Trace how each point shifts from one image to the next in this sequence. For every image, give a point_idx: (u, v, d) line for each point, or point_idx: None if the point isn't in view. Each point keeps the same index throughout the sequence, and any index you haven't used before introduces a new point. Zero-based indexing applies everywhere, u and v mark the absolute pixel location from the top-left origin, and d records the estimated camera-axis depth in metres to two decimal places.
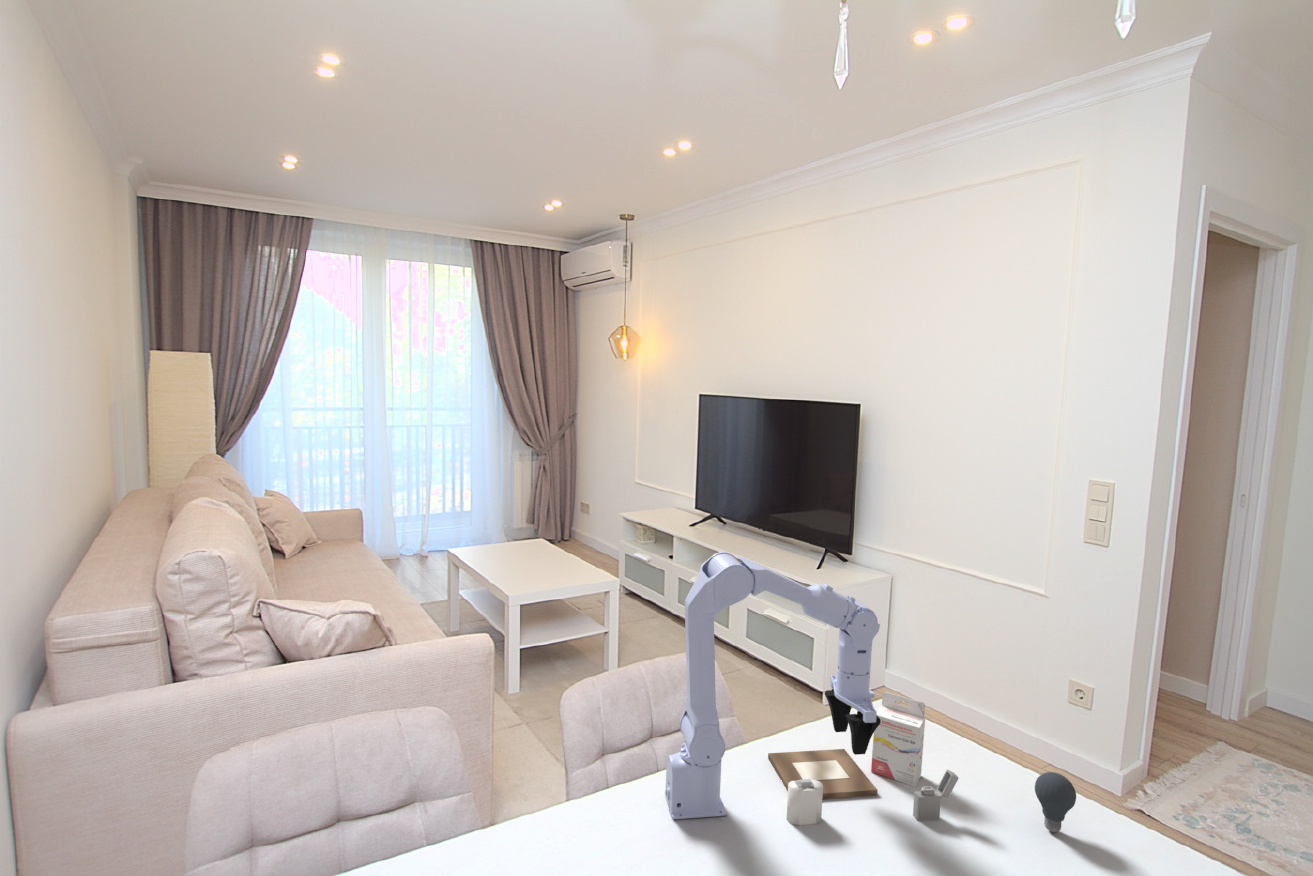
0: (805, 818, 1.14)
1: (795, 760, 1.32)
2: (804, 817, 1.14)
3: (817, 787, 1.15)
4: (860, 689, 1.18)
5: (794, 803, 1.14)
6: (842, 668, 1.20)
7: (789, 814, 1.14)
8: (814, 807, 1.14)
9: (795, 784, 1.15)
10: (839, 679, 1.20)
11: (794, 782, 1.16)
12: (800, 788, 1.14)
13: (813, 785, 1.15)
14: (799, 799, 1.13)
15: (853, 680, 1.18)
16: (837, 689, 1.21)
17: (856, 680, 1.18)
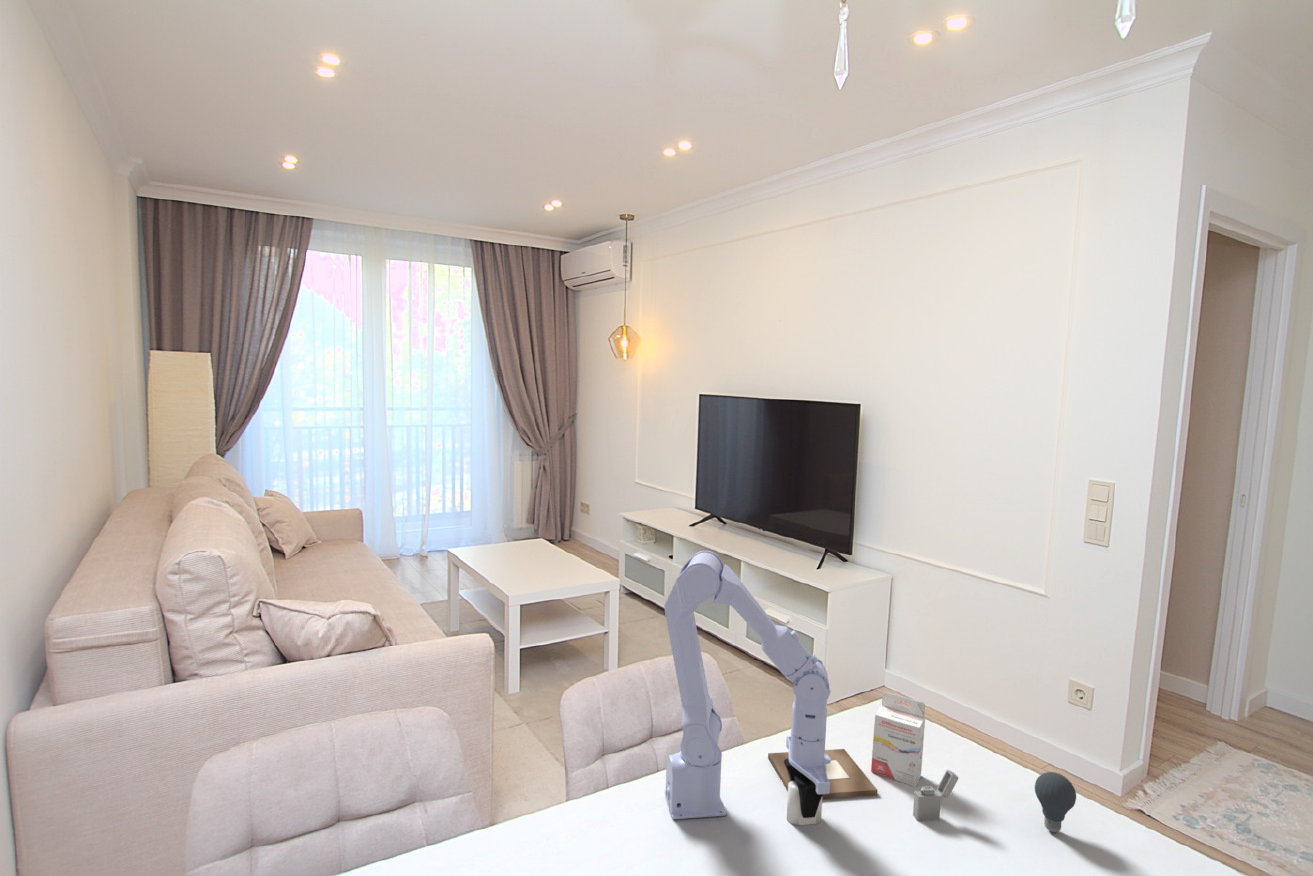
0: (805, 818, 1.14)
1: None
2: None
3: None
4: (814, 756, 1.12)
5: (794, 803, 1.14)
6: (792, 730, 1.14)
7: (789, 814, 1.14)
8: None
9: (795, 784, 1.15)
10: (792, 744, 1.14)
11: (794, 782, 1.16)
12: None
13: None
14: (799, 799, 1.13)
15: (807, 746, 1.12)
16: (791, 755, 1.14)
17: (810, 746, 1.12)
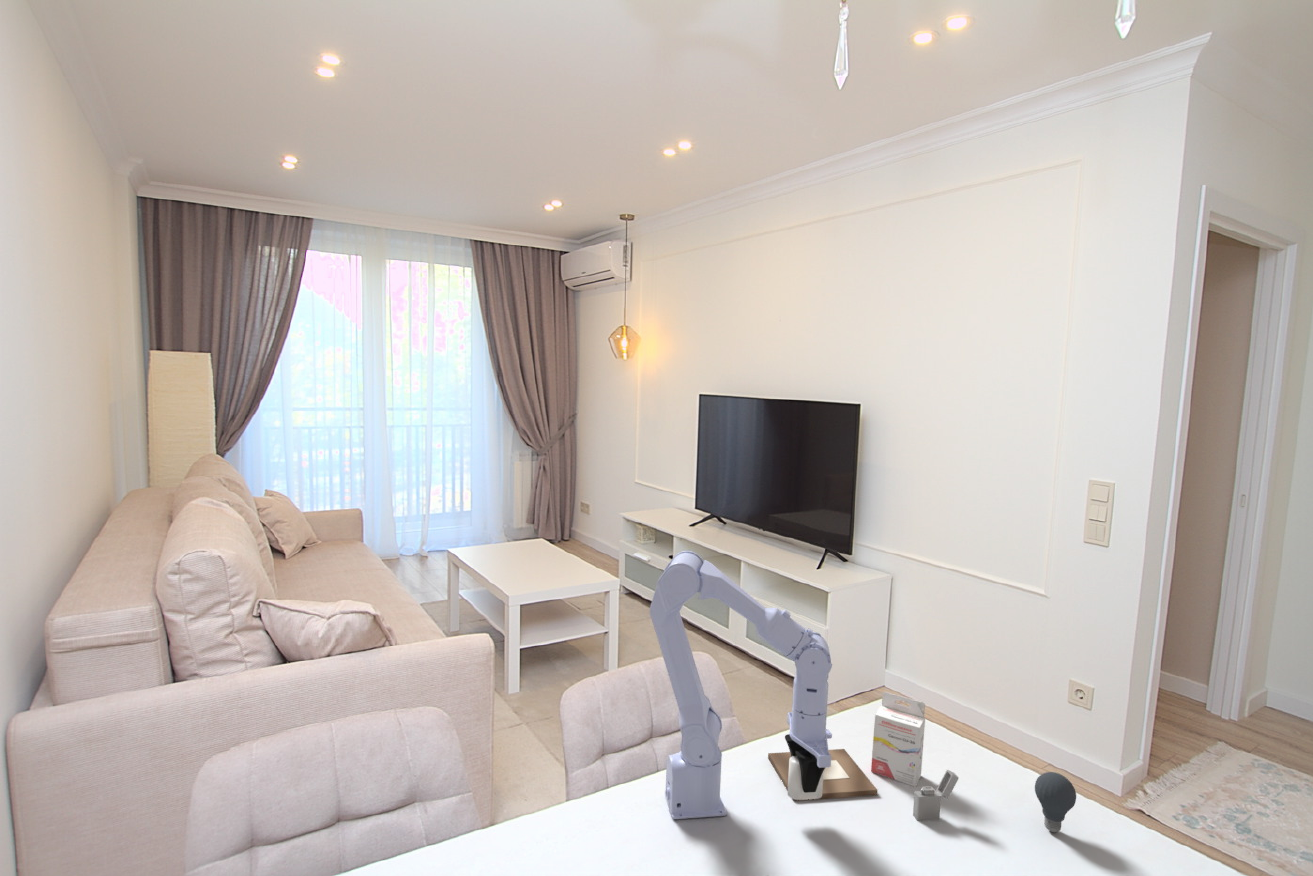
0: (806, 793, 1.14)
1: None
2: None
3: None
4: (815, 730, 1.11)
5: (795, 777, 1.13)
6: (794, 705, 1.13)
7: (790, 789, 1.14)
8: None
9: (796, 759, 1.15)
10: (794, 719, 1.13)
11: (795, 757, 1.15)
12: None
13: None
14: (800, 774, 1.13)
15: (808, 721, 1.11)
16: (792, 729, 1.14)
17: (811, 721, 1.11)
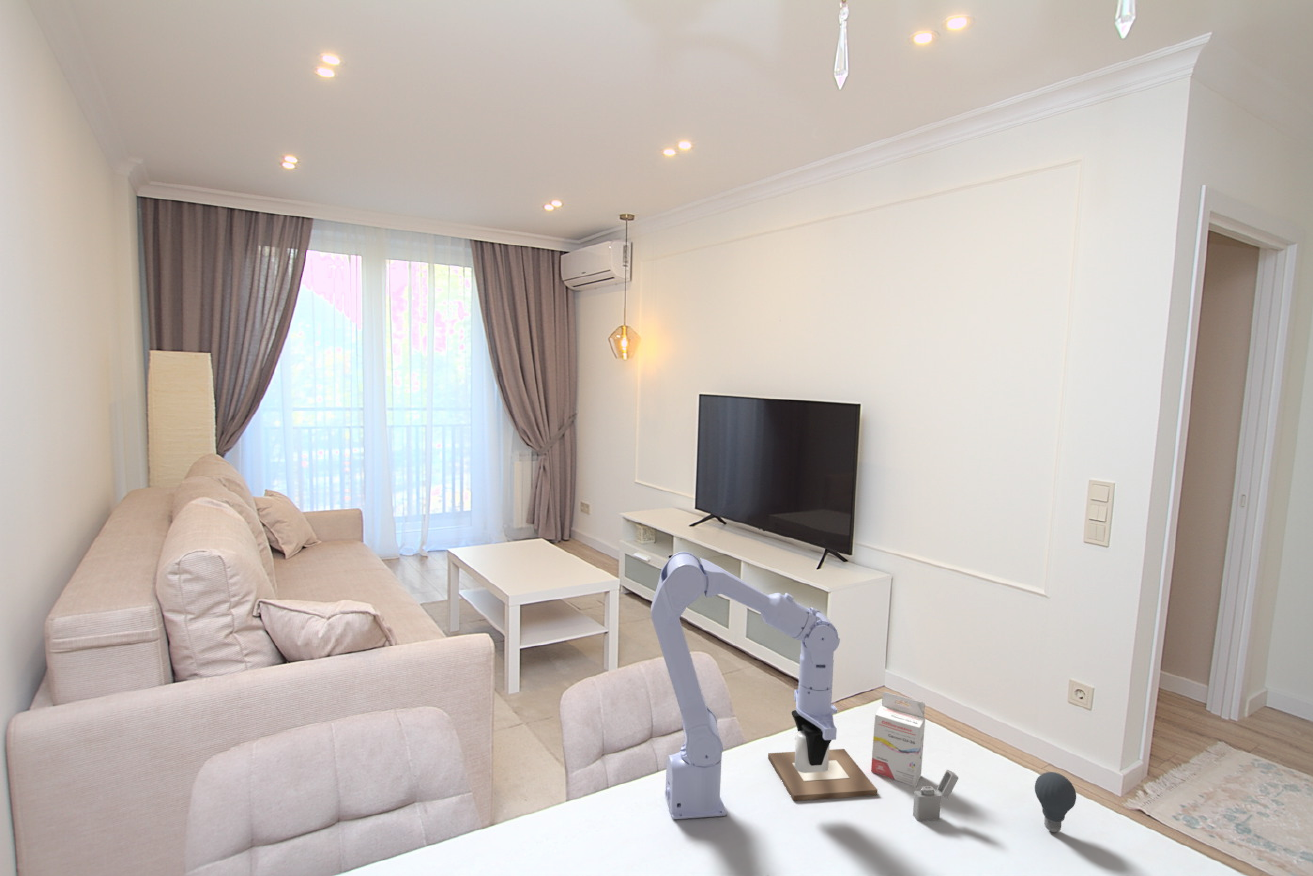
0: (812, 766, 1.17)
1: None
2: None
3: None
4: (821, 705, 1.15)
5: (802, 751, 1.17)
6: (802, 682, 1.16)
7: (796, 762, 1.18)
8: None
9: (803, 733, 1.18)
10: (800, 694, 1.17)
11: (802, 732, 1.19)
12: None
13: None
14: None
15: (814, 695, 1.15)
16: (798, 704, 1.17)
17: (817, 695, 1.15)
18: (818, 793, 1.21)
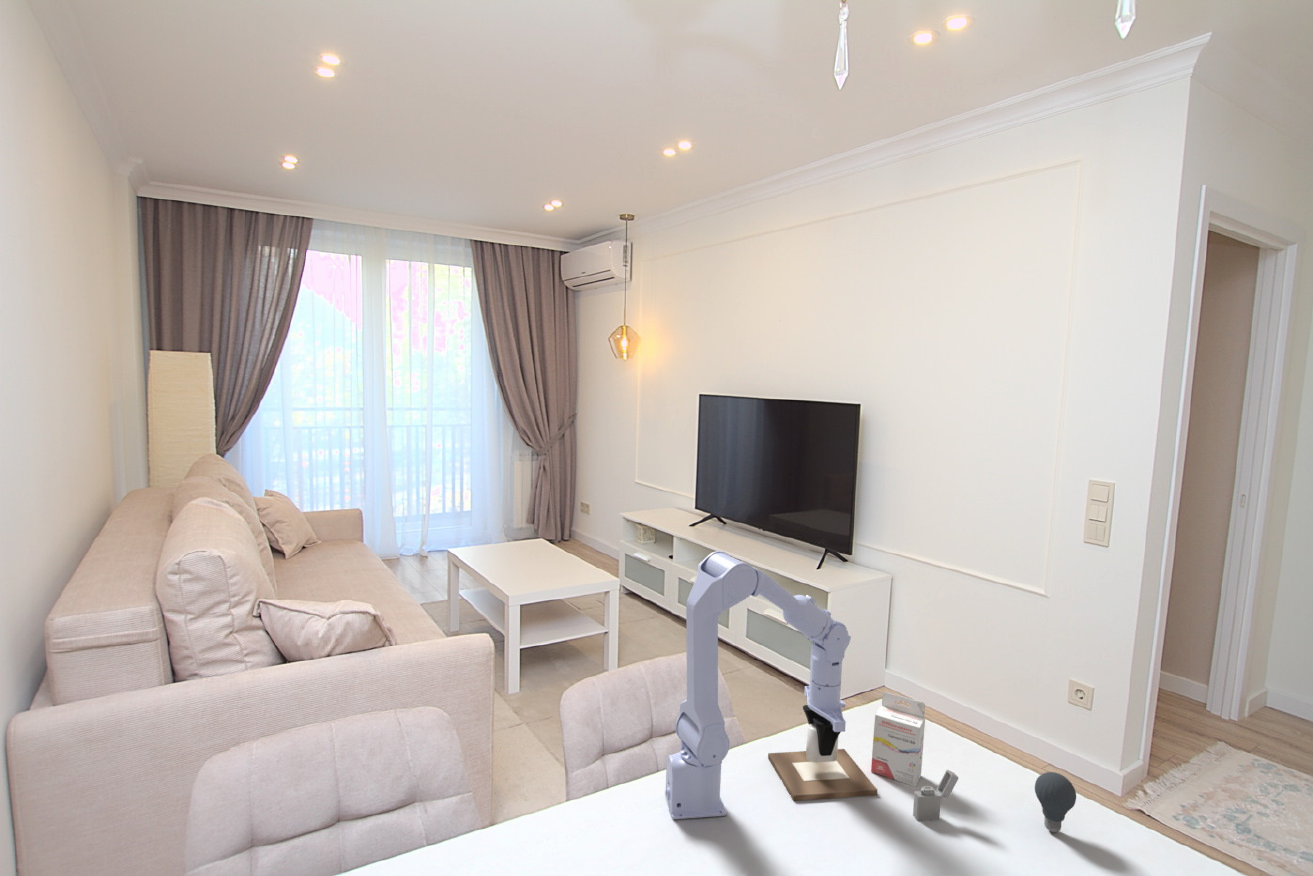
0: (823, 756, 1.27)
1: (795, 760, 1.32)
2: None
3: None
4: (830, 700, 1.25)
5: (813, 742, 1.26)
6: (817, 681, 1.25)
7: (808, 753, 1.27)
8: None
9: (813, 726, 1.28)
10: (811, 690, 1.26)
11: (812, 725, 1.29)
12: None
13: None
14: (817, 739, 1.26)
15: (824, 691, 1.24)
16: (809, 699, 1.27)
17: (827, 691, 1.24)
18: (818, 793, 1.21)
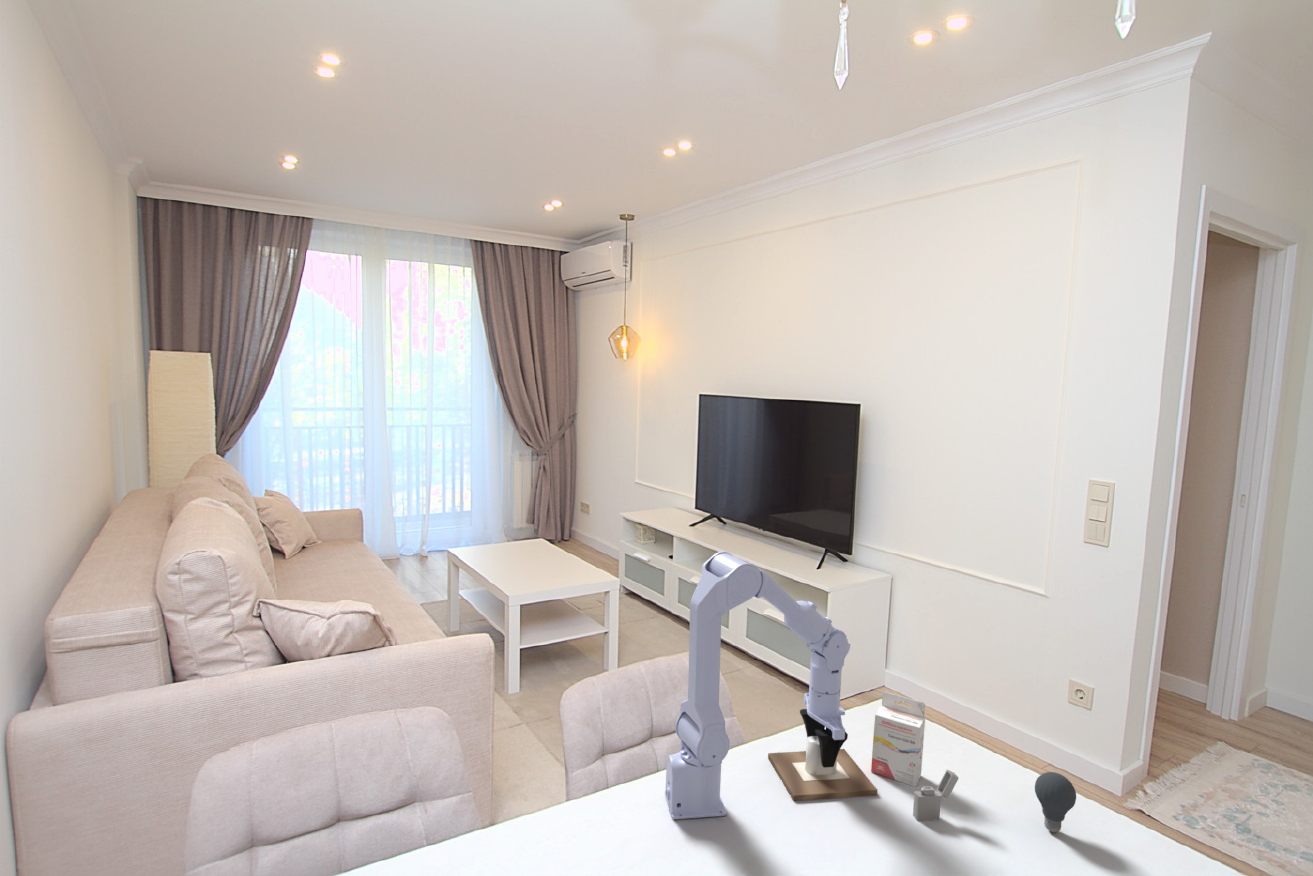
0: (822, 769, 1.27)
1: (795, 760, 1.32)
2: (821, 768, 1.27)
3: None
4: (830, 708, 1.25)
5: (812, 755, 1.27)
6: (816, 689, 1.25)
7: (807, 765, 1.27)
8: None
9: (813, 739, 1.28)
10: (811, 698, 1.27)
11: (812, 737, 1.29)
12: (817, 742, 1.27)
13: None
14: (817, 752, 1.26)
15: (824, 699, 1.25)
16: (809, 707, 1.27)
17: (826, 699, 1.25)
18: (818, 793, 1.21)
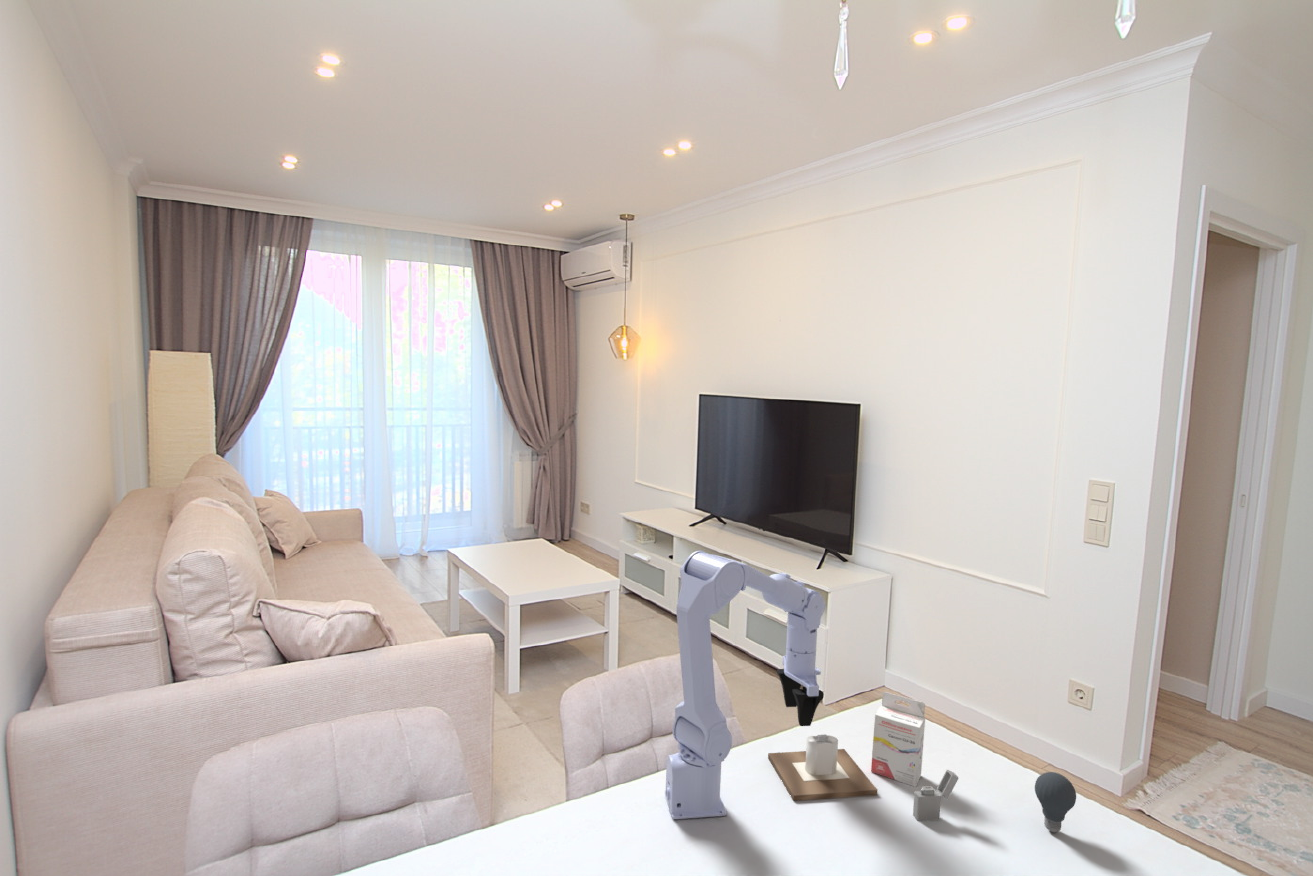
0: (822, 769, 1.27)
1: (795, 760, 1.32)
2: (821, 768, 1.27)
3: (833, 741, 1.28)
4: (805, 666, 1.29)
5: (812, 755, 1.27)
6: (796, 649, 1.29)
7: (807, 765, 1.27)
8: (830, 759, 1.27)
9: (813, 739, 1.28)
10: (787, 657, 1.31)
11: (812, 737, 1.29)
12: (817, 742, 1.27)
13: (829, 740, 1.28)
14: (817, 752, 1.26)
15: (799, 658, 1.29)
16: (786, 666, 1.31)
17: (802, 658, 1.29)
18: (818, 793, 1.21)
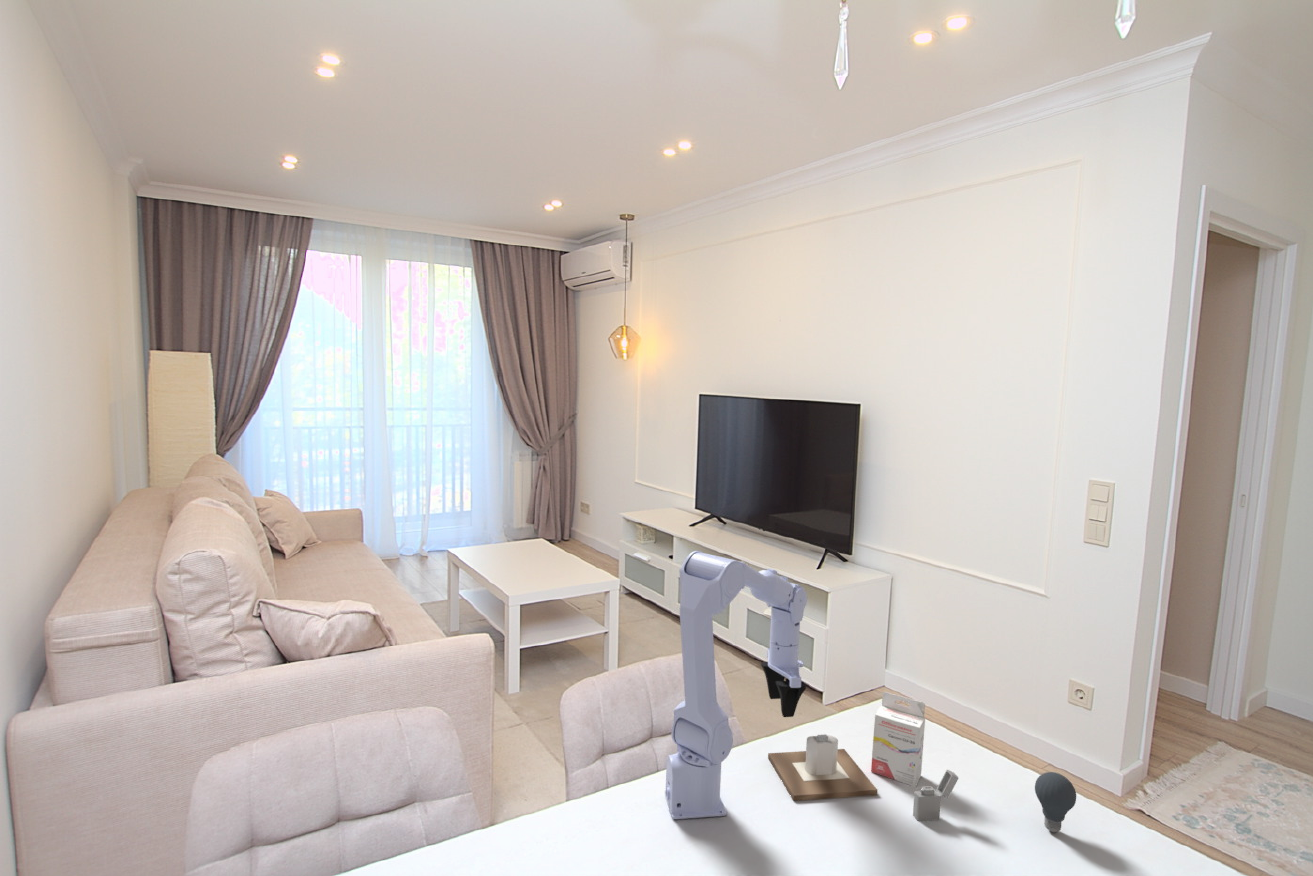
0: (822, 769, 1.27)
1: (795, 760, 1.32)
2: (821, 768, 1.27)
3: (833, 741, 1.28)
4: (788, 659, 1.32)
5: (812, 755, 1.27)
6: (781, 643, 1.32)
7: (807, 765, 1.27)
8: (830, 759, 1.27)
9: (813, 739, 1.28)
10: (771, 650, 1.34)
11: (812, 737, 1.29)
12: (817, 742, 1.27)
13: (829, 740, 1.28)
14: (817, 752, 1.26)
15: (782, 651, 1.32)
16: (769, 659, 1.35)
17: (785, 651, 1.32)
18: (818, 793, 1.21)
